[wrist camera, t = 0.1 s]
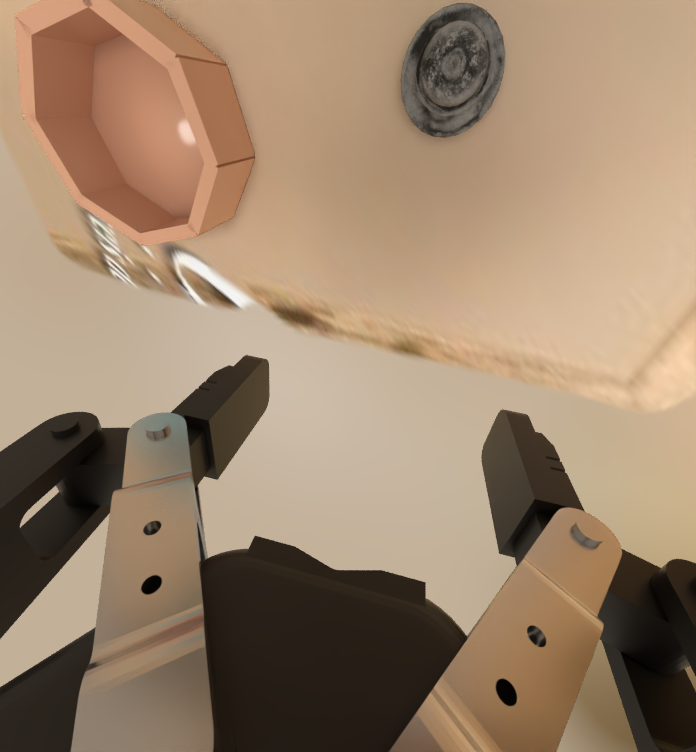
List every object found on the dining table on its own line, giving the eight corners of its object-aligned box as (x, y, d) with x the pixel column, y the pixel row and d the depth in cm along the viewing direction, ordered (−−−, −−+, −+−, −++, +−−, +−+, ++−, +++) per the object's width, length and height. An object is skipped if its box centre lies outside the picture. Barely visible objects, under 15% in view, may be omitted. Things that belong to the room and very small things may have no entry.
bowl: (95, -43, 22) (6, -82, 18) (274, 104, 25) (237, 103, 21) (86, 160, 31) (25, 169, 26) (220, 252, 34) (186, 274, 29)
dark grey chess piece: (472, 143, 24) (491, 165, 15) (395, 122, 24) (367, 131, 15) (515, 29, 20) (574, -34, 11) (422, 5, 20) (407, -76, 11)
